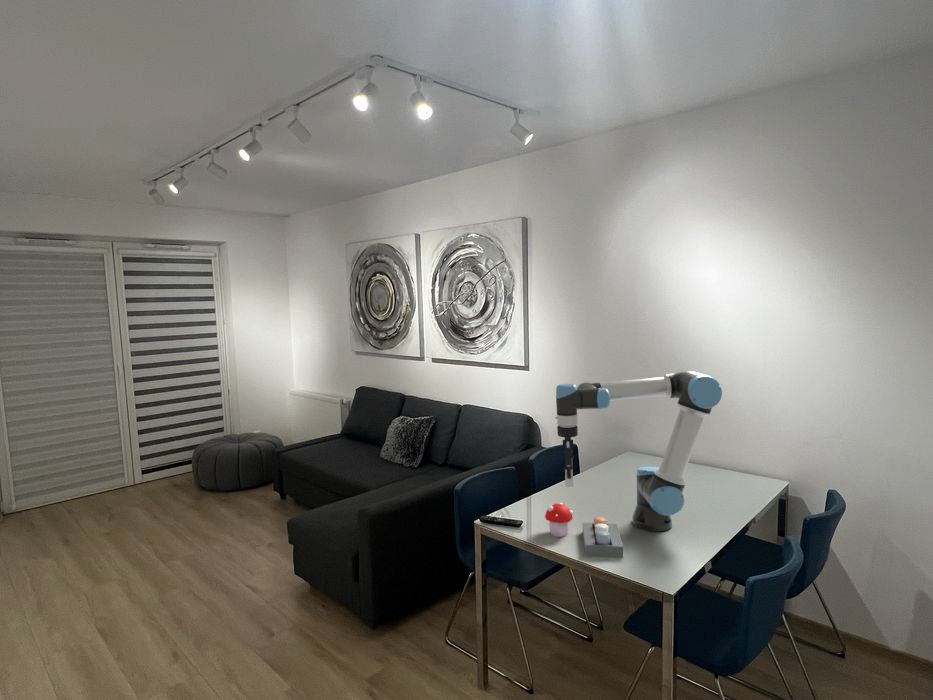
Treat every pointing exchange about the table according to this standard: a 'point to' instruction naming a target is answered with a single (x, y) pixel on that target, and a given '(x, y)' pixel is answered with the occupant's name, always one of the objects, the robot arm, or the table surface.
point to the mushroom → (558, 519)
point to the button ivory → (600, 528)
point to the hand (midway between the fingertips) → (569, 480)
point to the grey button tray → (602, 550)
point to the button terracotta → (599, 521)
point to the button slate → (602, 538)
